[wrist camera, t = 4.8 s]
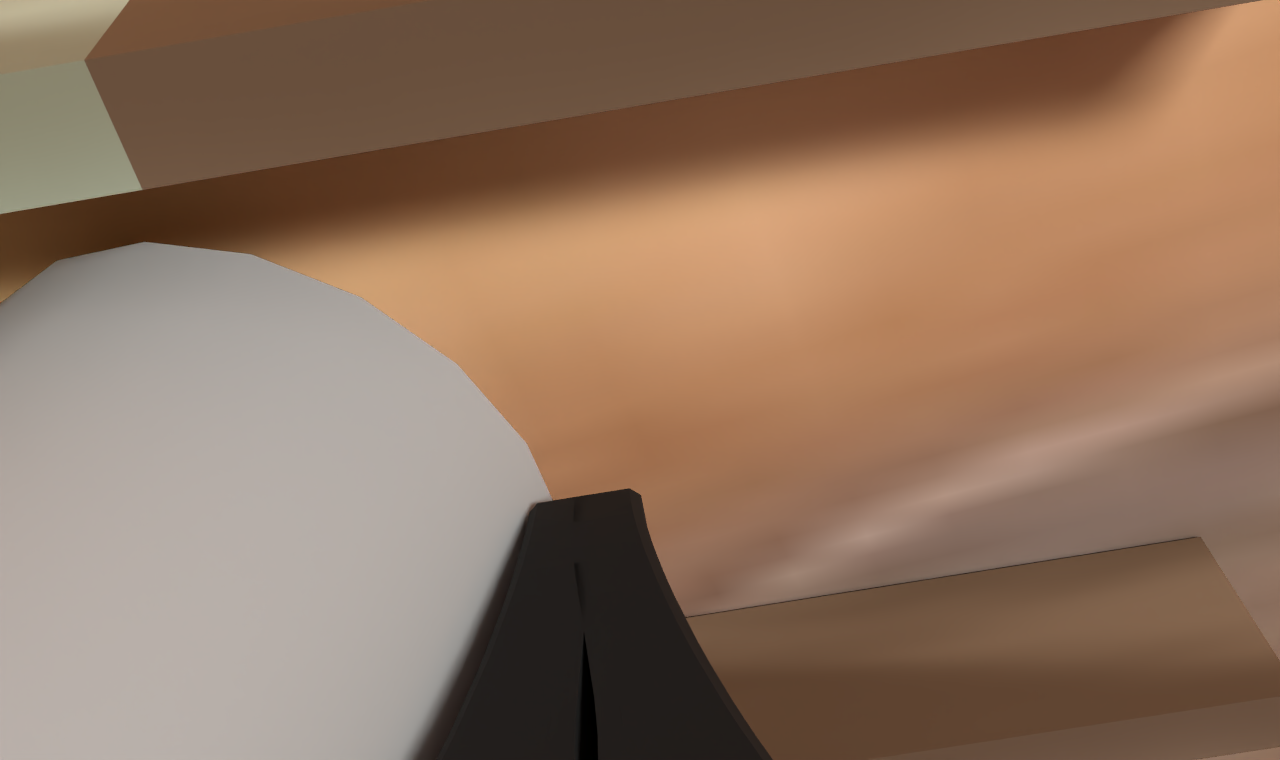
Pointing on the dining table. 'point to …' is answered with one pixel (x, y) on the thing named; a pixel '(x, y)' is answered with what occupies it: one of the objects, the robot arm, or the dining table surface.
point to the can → (240, 517)
